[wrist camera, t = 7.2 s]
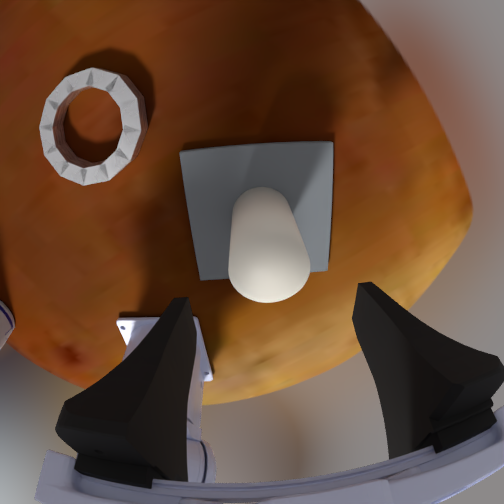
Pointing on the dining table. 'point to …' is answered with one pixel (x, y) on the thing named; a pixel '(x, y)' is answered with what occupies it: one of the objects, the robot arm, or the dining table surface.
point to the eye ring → (131, 121)
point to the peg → (266, 247)
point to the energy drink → (5, 323)
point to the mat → (251, 176)
